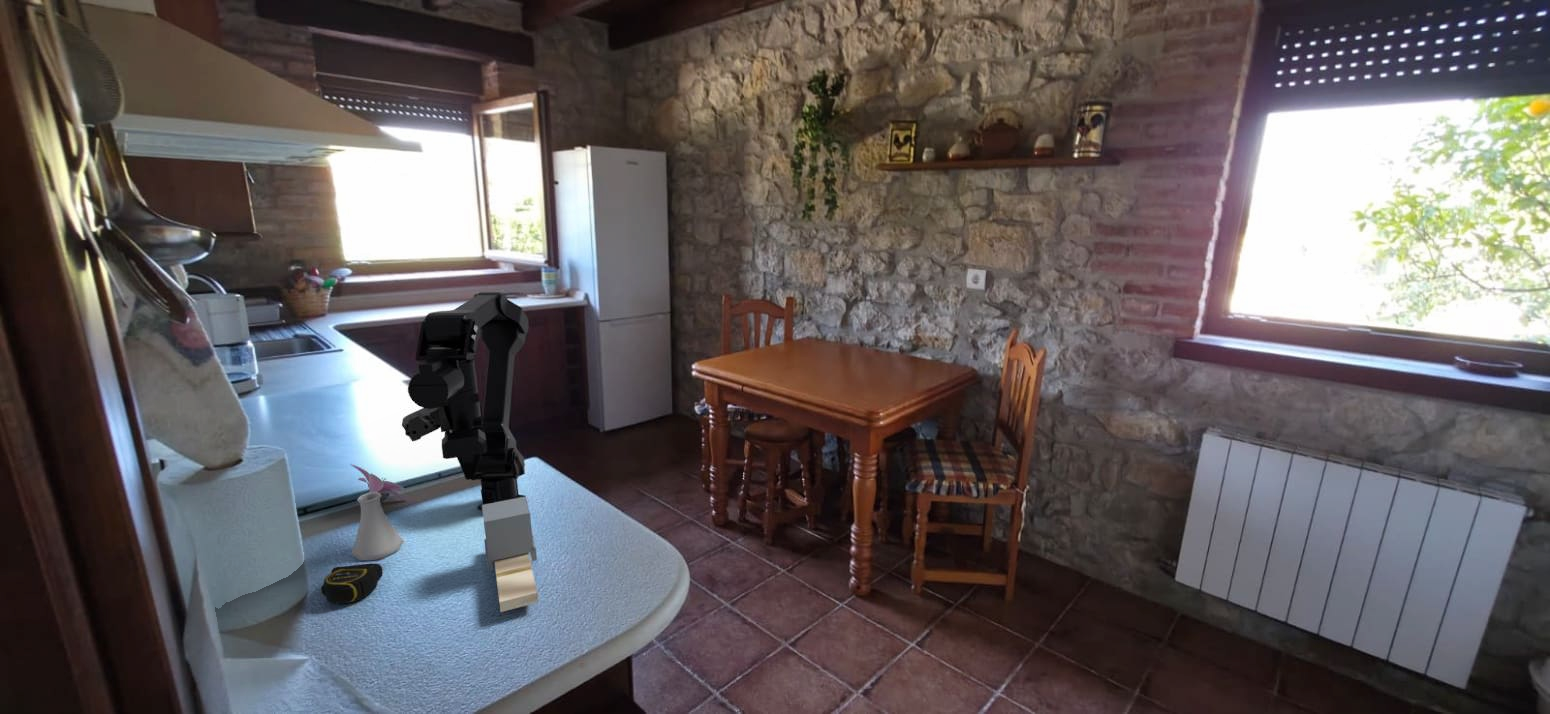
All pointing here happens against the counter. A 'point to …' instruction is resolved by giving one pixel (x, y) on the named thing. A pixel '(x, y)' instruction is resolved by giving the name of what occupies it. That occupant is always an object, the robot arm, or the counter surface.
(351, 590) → the tape measure
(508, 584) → the beam
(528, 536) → the block
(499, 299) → the robot arm
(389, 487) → the lily
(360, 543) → the flask
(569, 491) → the counter surface
